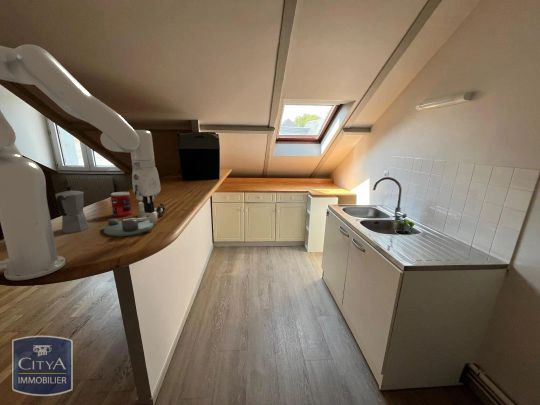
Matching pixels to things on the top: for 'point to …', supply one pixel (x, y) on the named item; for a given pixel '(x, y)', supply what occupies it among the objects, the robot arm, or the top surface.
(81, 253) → the top surface
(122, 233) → the instrument base
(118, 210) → the canned food
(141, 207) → the valve
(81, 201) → the coffeepot
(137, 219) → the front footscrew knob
